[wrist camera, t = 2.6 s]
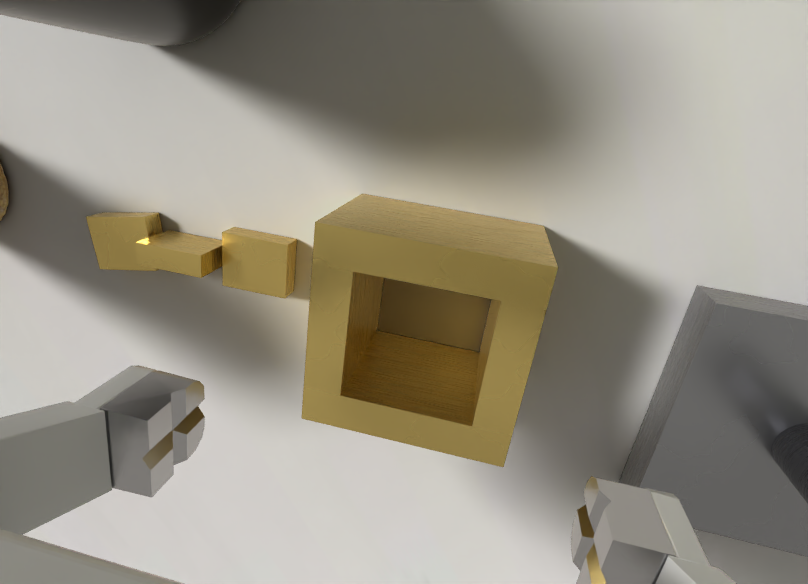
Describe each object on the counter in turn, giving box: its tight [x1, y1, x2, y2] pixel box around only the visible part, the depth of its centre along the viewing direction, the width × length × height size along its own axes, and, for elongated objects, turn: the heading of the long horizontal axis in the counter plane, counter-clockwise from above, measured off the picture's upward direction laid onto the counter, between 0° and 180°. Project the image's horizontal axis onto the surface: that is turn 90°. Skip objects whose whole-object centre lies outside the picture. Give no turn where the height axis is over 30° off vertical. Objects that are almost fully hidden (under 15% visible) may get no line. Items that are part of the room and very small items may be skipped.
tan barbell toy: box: [86, 212, 297, 298], centre depth 17 cm, size 2×8×2 cm, turn 82°
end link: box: [302, 194, 558, 467], centre depth 15 cm, size 6×6×4 cm
